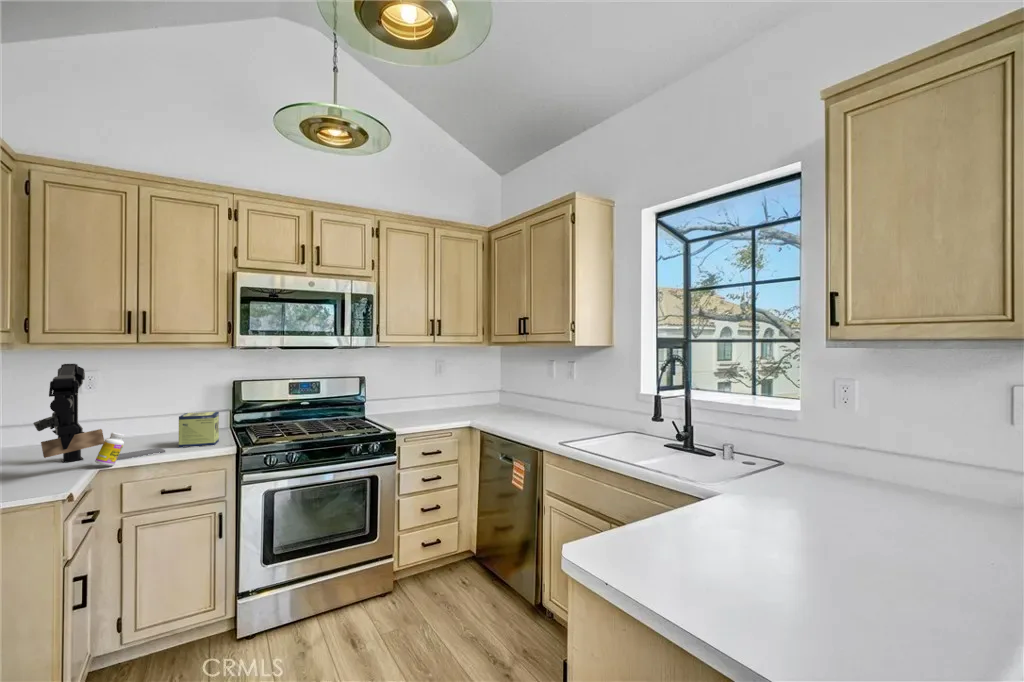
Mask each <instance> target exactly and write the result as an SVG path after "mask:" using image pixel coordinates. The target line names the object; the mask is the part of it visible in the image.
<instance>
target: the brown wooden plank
mask: <svg viewBox="0 0 1024 682" xmlns="http://www.w3.org/2000/svg"><path fill="white" fill-rule="evenodd" d="M83 432H84V433H80V434H75V435H74V437H73V439H72V440H71V442H70V444H69V446H68V448H67V449H63V447H62V443H61V439H60V438H58V437H57V438H54V439H49V440H44V441H40V444H41V445H40V446H41V450H42V456H43V458H44V459H46V458H50V457H54V456H57V455H63V453H68V452H72V451H76V450H80V449H81V450H84V449H88V448H92V447H96V446H100V445H101V446H102V445H103V444H105V442H104V441H105V437H104V432H103V429H102V428H100V429H99V428H98V429H94V430H91V431H83Z"/></svg>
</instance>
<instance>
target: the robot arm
mask: <svg viewBox="0 0 1024 682" xmlns="http://www.w3.org/2000/svg"><path fill="white" fill-rule="evenodd" d="M85 373H86V372H85V369H84V368H83V367H81V366H79V365H78V363H63V364H61V366H60V367H59V368H58V369H57V376H54V377H53V378H52V380H50V382H49V392H48V397H53V400H52V401H51V402H50V405H49V408H50V410H51V411H52V413H51V416H49V417H46V418H43V419H39V420H37V421H34V422H33V423H32V424H33V425H34V427H35V429H36V431H37V432H41V431H44V430H46V429H48V428H49V429H50V430H52V433H53V434H55V435H56V436H57V438H60V439H61V443H62V447H63V449H67V448H68V446H69V444H70V442H71V440H72V439H73V437H74V435H75V434H80V433H84V432H85V431H84V430H83V427H82V425H81V424H80V423H79V389H80V388H81V386H82V385H83V384H84V380H86V374H85ZM62 456H63V457H62V458H61V459H60V461H61V462H62V463H69V462H75V461H82V460H84V457H83V456H82V449H80V450H76V451H72V452H68V453H63V454H62Z"/></svg>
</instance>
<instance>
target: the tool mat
mask: <svg viewBox="0 0 1024 682" xmlns="http://www.w3.org/2000/svg"><path fill="white" fill-rule="evenodd" d="M159 452H165V453H166V450H165V449H163V448H161V447H155V448H148V449H144V450H143V449H142V450H136V451H129V452H122V453H120V454H119V456H118V458H117V460H116V461H121V460H127V459H132V457H134V458H138V457H137V456H140V457H144V456H143V455H146V456H149V455H148V454H153V453H159ZM159 454H160V453H159ZM153 455H154V454H153Z"/></svg>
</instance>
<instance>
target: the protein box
mask: <svg viewBox="0 0 1024 682" xmlns="http://www.w3.org/2000/svg"><path fill="white" fill-rule="evenodd" d="M219 414H220V411H207V412H206V411H203V412H186V413H185V412H184V413H183V414H181V415H179V416H178V445H177V446H178V447H183V446H199V447H203V446H202V445H214V446H215V445H216V444H218V442H219V441H220V437H219V436H220V435H219V434H220V433H219V432H220V429H219V428H220V427H219V425H220V422H219V420H220V418H219V417H220V415H219ZM183 448H184V447H183Z"/></svg>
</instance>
